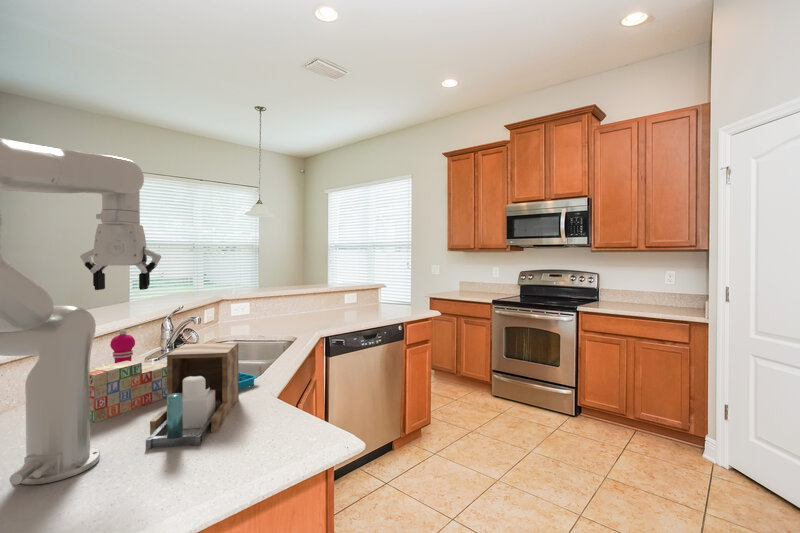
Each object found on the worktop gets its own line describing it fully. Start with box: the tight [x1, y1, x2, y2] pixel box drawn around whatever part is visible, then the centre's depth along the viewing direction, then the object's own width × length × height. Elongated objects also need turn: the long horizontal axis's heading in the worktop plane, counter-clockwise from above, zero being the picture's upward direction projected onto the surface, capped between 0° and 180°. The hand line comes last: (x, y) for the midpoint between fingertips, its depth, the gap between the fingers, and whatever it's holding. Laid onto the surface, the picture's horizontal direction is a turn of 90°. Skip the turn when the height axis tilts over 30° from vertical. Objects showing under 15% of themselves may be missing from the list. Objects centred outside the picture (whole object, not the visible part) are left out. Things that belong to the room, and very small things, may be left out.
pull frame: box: [145, 393, 222, 450], centre depth 95 cm, size 18×11×11 cm, turn 10°
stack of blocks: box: [90, 360, 167, 423], centre depth 111 cm, size 21×6×12 cm, turn 158°
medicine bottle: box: [183, 373, 215, 430], centre depth 100 cm, size 7×7×12 cm
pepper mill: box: [109, 328, 136, 363], centre depth 118 cm, size 7×7×20 cm
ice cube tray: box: [238, 371, 258, 391], centre depth 131 cm, size 12×20×3 cm, turn 60°
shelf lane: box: [149, 342, 240, 436], centre depth 104 cm, size 23×14×16 cm, turn 10°
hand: (121, 289), depth 98 cm, fingers open, 9 cm apart
